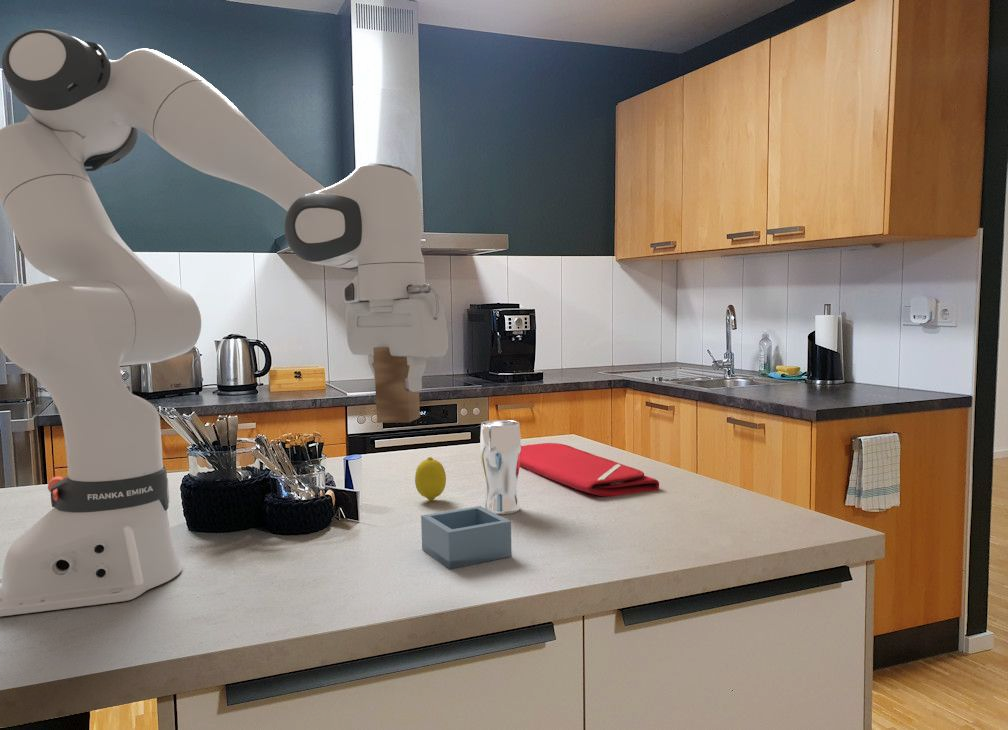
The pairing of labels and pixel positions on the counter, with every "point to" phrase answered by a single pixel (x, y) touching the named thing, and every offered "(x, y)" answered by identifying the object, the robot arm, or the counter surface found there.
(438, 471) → the lemon
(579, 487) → the red folded towel
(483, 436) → the beer glass
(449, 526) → the open box
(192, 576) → the counter surface
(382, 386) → the walnut block
